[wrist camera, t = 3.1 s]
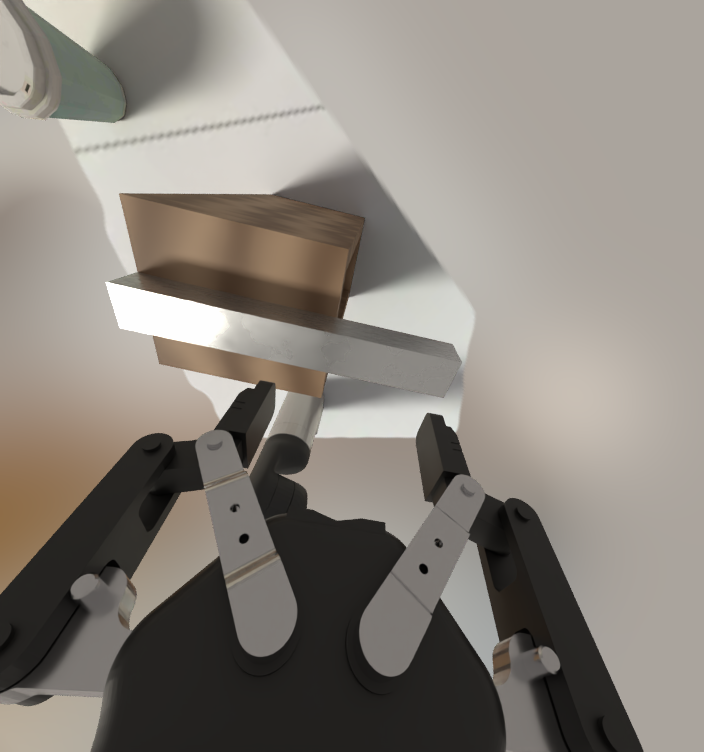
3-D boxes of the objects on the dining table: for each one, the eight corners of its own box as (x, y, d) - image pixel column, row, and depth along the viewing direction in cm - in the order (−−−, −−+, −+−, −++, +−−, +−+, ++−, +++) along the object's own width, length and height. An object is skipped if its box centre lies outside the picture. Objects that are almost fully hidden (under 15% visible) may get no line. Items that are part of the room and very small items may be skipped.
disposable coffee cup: (54, 84, 39) (-95, 33, 27) (81, 8, 35) (-82, -96, 22) (124, 157, 43) (23, 141, 31) (156, 96, 39) (54, 50, 27)
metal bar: (452, 344, 23) (461, 362, 20) (436, 377, 25) (443, 397, 22) (137, 272, 21) (106, 282, 19) (147, 313, 23) (120, 327, 21)
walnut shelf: (364, 217, 46) (348, 249, 19) (348, 297, 53) (321, 398, 27) (271, 194, 45) (119, 193, 18) (268, 279, 53) (159, 363, 26)
